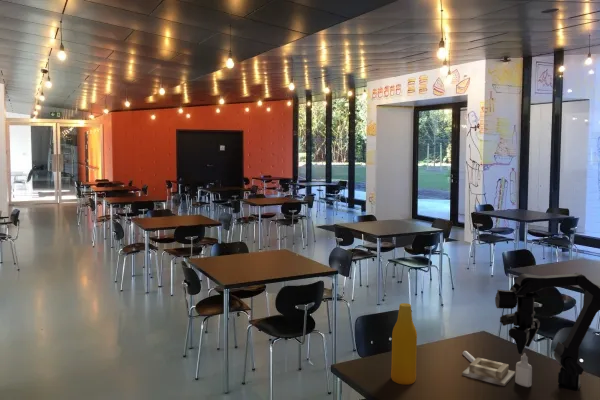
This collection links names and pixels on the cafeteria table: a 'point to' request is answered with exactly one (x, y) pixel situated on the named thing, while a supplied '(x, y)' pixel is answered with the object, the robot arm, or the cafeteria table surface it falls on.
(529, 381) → the eye dropper bottle
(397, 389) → the cafeteria table surface
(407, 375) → the beer bottle
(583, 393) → the cafeteria table surface
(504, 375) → the collar block
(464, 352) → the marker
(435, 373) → the cafeteria table surface
